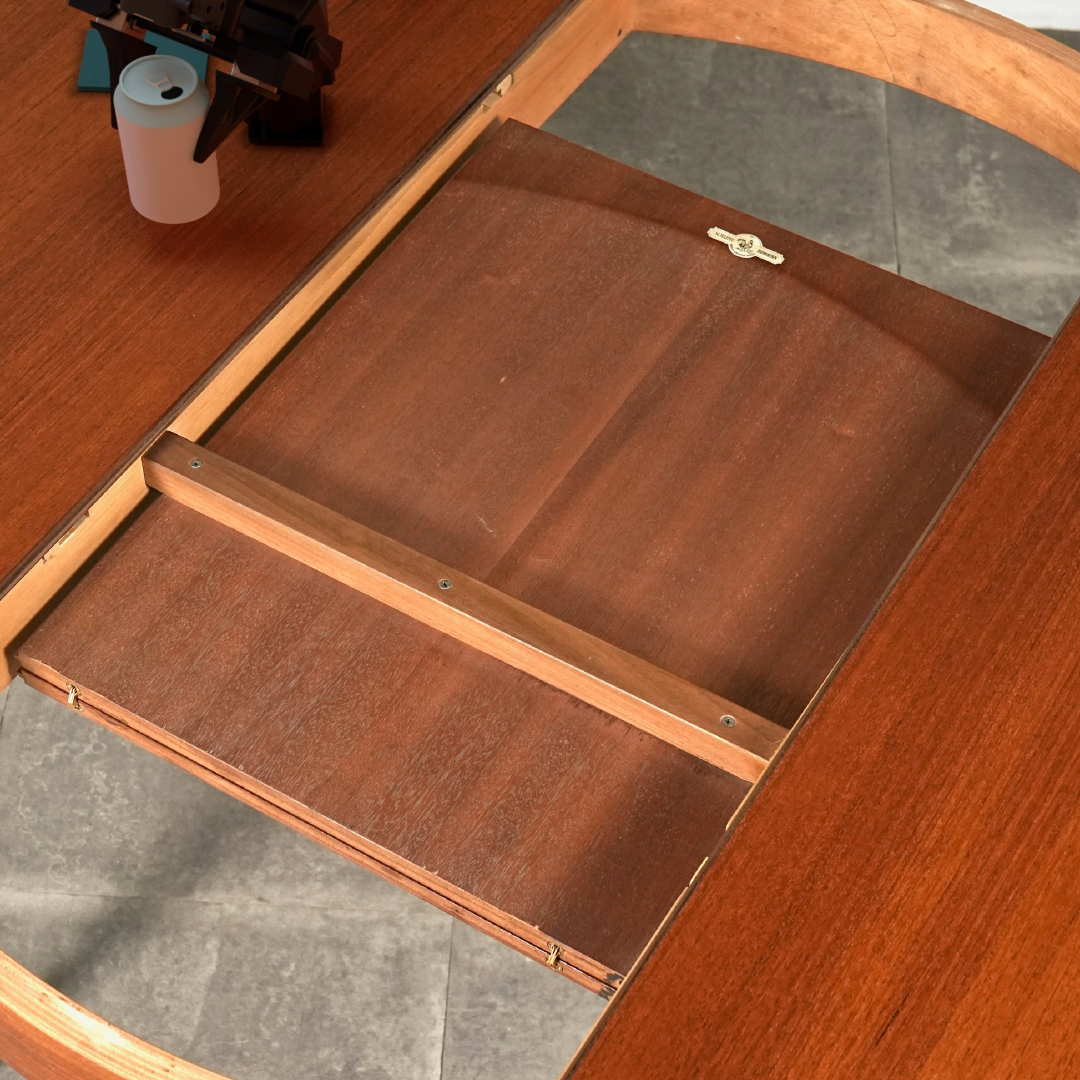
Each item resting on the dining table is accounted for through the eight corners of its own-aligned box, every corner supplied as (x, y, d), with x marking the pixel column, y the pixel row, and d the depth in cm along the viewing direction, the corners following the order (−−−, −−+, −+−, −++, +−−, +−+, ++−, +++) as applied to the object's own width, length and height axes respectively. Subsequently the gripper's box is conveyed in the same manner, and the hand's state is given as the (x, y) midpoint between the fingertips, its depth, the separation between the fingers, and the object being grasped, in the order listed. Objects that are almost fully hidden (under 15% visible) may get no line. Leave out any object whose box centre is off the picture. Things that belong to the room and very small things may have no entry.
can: (231, 177, 130) (218, 56, 120) (206, 237, 126) (191, 116, 116) (146, 163, 130) (127, 41, 120) (119, 221, 126) (97, 100, 116)
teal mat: (211, 39, 146) (210, 33, 146) (204, 95, 142) (203, 90, 141) (88, 34, 145) (87, 28, 145) (77, 91, 141) (76, 85, 140)
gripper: (59, -127, 113) (-7, 85, 116) (287, -42, 109) (214, 176, 112) (136, -84, 124) (75, 110, 126) (347, -4, 120) (278, 193, 123)
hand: (156, 145), depth 122 cm, fingers closed on can, 7 cm apart
